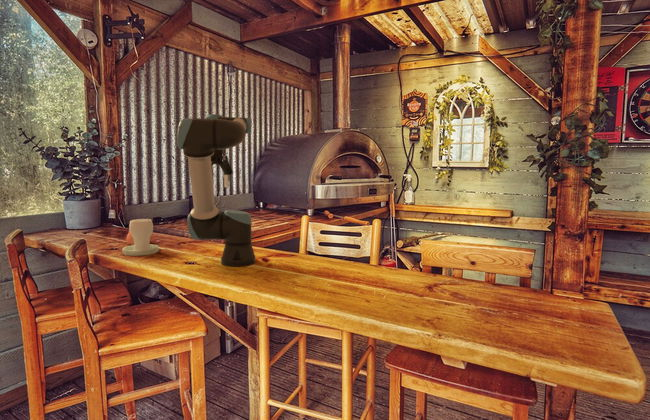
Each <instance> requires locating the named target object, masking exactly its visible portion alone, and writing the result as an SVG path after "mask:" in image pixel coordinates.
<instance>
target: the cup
mask: <svg viewBox="0 0 650 420" xmlns="http://www.w3.org/2000/svg"><path fill="white" fill-rule="evenodd" d="M128 228H129V229H128V232H129V231H130V233H131V235H132V237H133V239H134V251H141V250H149V249H151V247H150V244H151V243H149V242H151V241H150V237H151V234H152V232H154V223H153V220H152V219H151V218H137V219H132V220H130V221H129V225H128ZM152 235H153V234H152Z"/></svg>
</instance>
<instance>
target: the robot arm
mask: <svg viewBox="0 0 650 420" xmlns="http://www.w3.org/2000/svg"><path fill="white" fill-rule="evenodd" d="M177 127H178V128H177V134H176V144H177V145H176V146H177V148H178V149H180V150H182V153H183V155H184V156H185V157H186V158H187V160H188V170H189V177H190V179H189V180H190V186H191V193H192V195H191V196H192V203H193V208H192V209H191V211H190V213H189V214H188V215H187V219H186V220H187V221H186V222H187V231H188V234H189V236H190V238H192V239H193V240H198V241H204V240H205V241H207V240H212V241H215V240H219V241H221V240H224V248H223V251H222V256H221V258H220V263H221V265H223V266H227V267H244V266H245V265H247V266H250V264H251V265H253V263H254V264H255V263H256V261H257V260H256V259H257V258H256V255H255V252H254V249H253V246H252V244H253V243H252V241H253V239H252V238H253V237H252V225H253V223H252V222H253V221H252V216H251V215H252V214H251V213H249V212H247V211H243V210H237V209H225V210H224V212H223V213H220V211H219V208H218V207H217V206H215V194H214V192H215V191H214V183H213V181H214V180H213V169H212V166H213V165H218V166H219V167H220V168H221V170H222V171H223V173H224V174H223V187H224V188H229V187H230V186H229V185H230V183H229V182H230V180H231V179H230V176H231V175H232V174H233V173H234V172H233V170H232V167H231V164H230V161H229V157H228V155H223V154H224V150H228V149H232V148H234V147H237V146H239V145H241V144H242V143H243V142H244V141H245V139H246V135H247V134H251V133H252V119H251V117H239V116H238V117H235V116H223V115H221V114H216V113H213V114H211V113H210V114H208V115H207V116H206V117H205V118H195V117H192V118H191V117H189V118H182V119H180V121H179V123H178V126H177ZM245 267H246V266H245Z"/></svg>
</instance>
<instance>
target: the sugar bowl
mask: <svg viewBox="0 0 650 420" xmlns="http://www.w3.org/2000/svg"><path fill="white" fill-rule="evenodd" d="M153 232H154V231H153ZM153 232H152V234H151V237H150V242H153V241H154V239H155V238H154V237H153ZM125 242H126V243H127V244H128V245H129V246H131V245H134V239H133V237H132V235H131V233H130V231H129V230H128V233H127V235H126V238H125ZM150 242H149V243H150ZM150 244H151V243H150Z"/></svg>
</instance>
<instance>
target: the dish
mask: <svg viewBox="0 0 650 420" xmlns="http://www.w3.org/2000/svg"><path fill="white" fill-rule="evenodd" d="M150 247H151V249H149V250H141V251H134V245H127V246H124V247H122V248H121V249H122V250H121V251H122V252H121V253H122V255H125V256H130V257H133V256H134V257H135V256H136V257H137V256H138V257H140V256H147V255H149V256H150V255H153V254H156V253H158V252H159V251H160V247H159V245H158V244H155V243H154V244H152V243H150Z"/></svg>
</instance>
